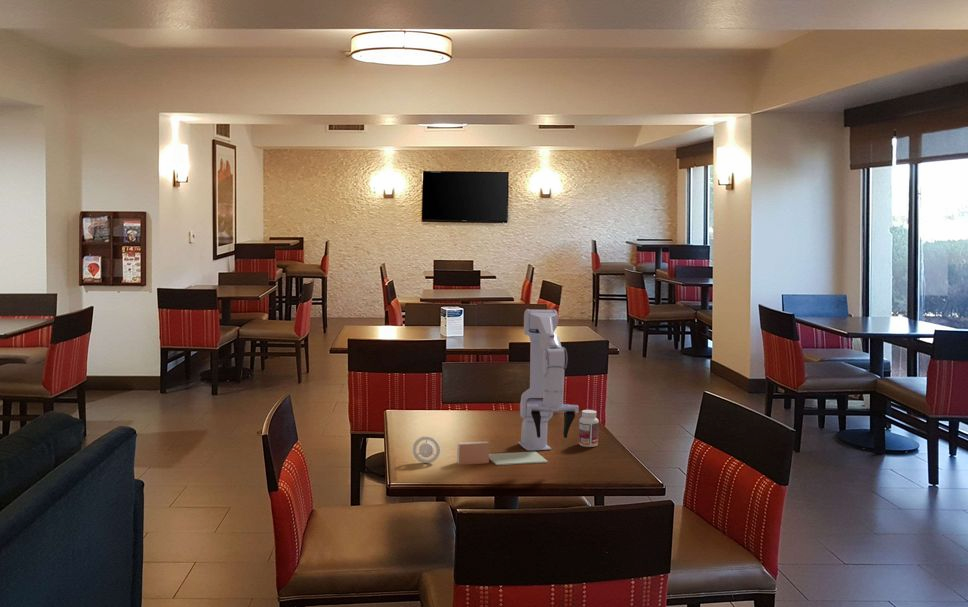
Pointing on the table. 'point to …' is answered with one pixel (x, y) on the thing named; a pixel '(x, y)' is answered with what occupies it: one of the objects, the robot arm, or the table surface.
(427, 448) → the ring around a ball
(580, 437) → the pill bottle
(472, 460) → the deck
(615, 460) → the table surface
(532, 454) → the mat
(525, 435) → the robot arm
